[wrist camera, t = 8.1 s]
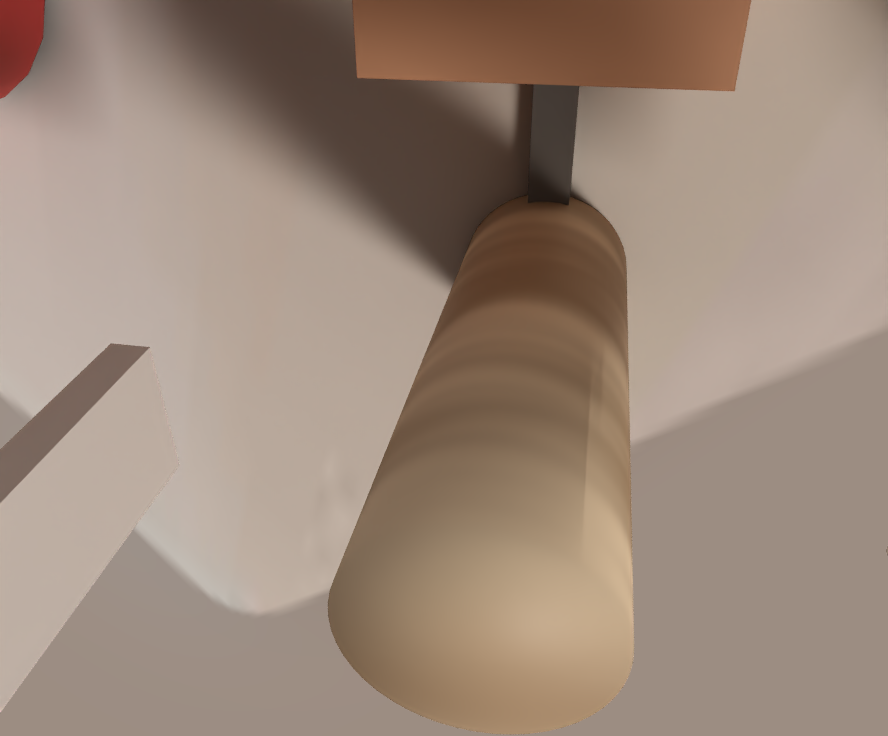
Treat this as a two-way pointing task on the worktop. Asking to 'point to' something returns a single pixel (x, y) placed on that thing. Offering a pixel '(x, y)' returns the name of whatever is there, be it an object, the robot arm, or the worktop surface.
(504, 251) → the tethered cylinder
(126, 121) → the worktop surface
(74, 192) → the worktop surface
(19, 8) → the beer can
